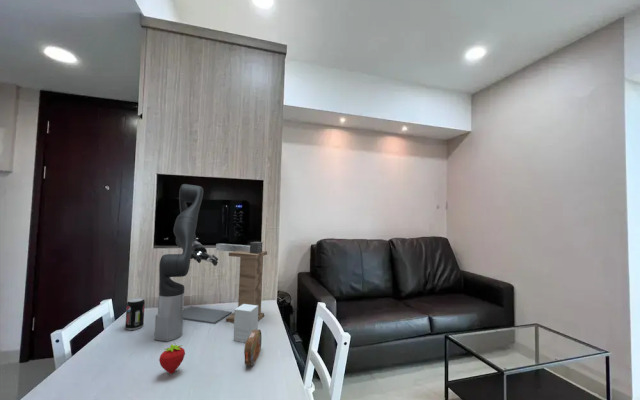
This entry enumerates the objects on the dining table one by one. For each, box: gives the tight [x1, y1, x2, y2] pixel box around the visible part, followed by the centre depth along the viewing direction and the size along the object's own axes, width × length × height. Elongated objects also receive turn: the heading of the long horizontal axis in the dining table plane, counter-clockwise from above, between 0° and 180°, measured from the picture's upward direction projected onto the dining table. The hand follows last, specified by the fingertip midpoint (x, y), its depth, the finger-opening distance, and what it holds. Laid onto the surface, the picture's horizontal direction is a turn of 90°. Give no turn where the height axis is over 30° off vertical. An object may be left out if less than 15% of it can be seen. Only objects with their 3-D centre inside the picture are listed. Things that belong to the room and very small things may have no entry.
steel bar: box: [215, 241, 263, 254], centre depth 136 cm, size 5×23×5 cm, turn 76°
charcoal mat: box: [183, 305, 233, 325], centre depth 136 cm, size 14×24×1 cm, turn 76°
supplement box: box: [233, 304, 259, 343], centre depth 114 cm, size 7×7×13 cm
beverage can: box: [124, 297, 146, 331], centre depth 120 cm, size 7×7×12 cm
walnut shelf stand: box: [225, 250, 268, 324], centre depth 134 cm, size 12×14×32 cm
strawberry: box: [158, 340, 186, 375], centre depth 88 cm, size 6×8×10 cm
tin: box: [243, 329, 263, 366], centre depth 99 cm, size 15×3×8 cm, turn 179°
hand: (208, 262), depth 135 cm, fingers open, 8 cm apart
